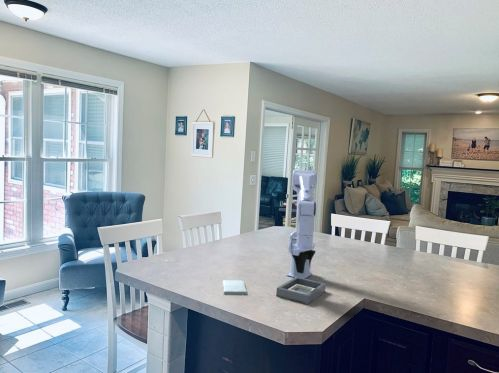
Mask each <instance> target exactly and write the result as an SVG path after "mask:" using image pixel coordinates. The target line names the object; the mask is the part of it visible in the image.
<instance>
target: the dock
mask: <svg viewBox="0 0 499 373" xmlns="http://www.w3.org/2000/svg"><path fill="white" fill-rule="evenodd" d="M326 286H327V285H326V283H323V282H320V281H315V280H311V279H307V278H305V279H303V278H299V277H292V278H291V279H289V280H288V281H286V282H284V283H283V284H280V285H279V286H278V287H276V295H275V296H276V297H279V298H282V299H286V300H290V301H293V302H297V303H300V304H304V305H309V304H311V302H313V301H315V300H316V299H317V298H319V297H320V296H321V295H322V294H324V293H325V292H326Z"/></svg>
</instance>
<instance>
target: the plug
mask: <svg viewBox="0 0 499 373" xmlns="http://www.w3.org/2000/svg"><path fill="white" fill-rule="evenodd" d="M294 276H295V277H300V278H305V279H307V278H308V277H309V259H307V260H306V262H305V267H304V271H303V273H298V272H297V269H296V264H295V260H294ZM307 276H308V277H307ZM295 277H294V278H295Z"/></svg>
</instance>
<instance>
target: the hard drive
mask: <svg viewBox="0 0 499 373" xmlns="http://www.w3.org/2000/svg"><path fill="white" fill-rule="evenodd" d="M245 284H246V283H245V281H244V280H241V279H238V280H236V279H224V280H222V290H223V295H248V293H247V289H246V285H245Z"/></svg>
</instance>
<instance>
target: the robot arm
mask: <svg viewBox="0 0 499 373" xmlns="http://www.w3.org/2000/svg"><path fill="white" fill-rule="evenodd" d="M291 181H292V182H291V184H292V190H293V191H294V192H296V195H297V201H296V202H297V204H296V205H297V206H296V223H295V224H296V226H295V228H296V229H295V230H294V231H293V232H291V233H290V234H289V236H288V245H287V247H288V250H287V252H288V253H289V254H290V266H289V268H290V269H289V272H288V273H286V274H285V275H286V276H288V277H292V278H295V276H294V260H295V264H296V269H297V272H298V273H303V271H304V267H305V262H306V260H307V259H309V276H311V275H313V272H311V266H312V259H313V257H314V255H315V254H316V250H314V249H315V243H314V242H313V240H314V227H315V226H314V225H315V218H316V215H317V201H316V200H315V194H314V191H315V189H316V186H317V181H318V172H317V171H316V170H306V169H304V170H303V169H302V170H301V169H293V171H292V178H291ZM309 276H307V277H306V278H308V277H309ZM299 278H300V277H299ZM306 278H303V279H306Z"/></svg>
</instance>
